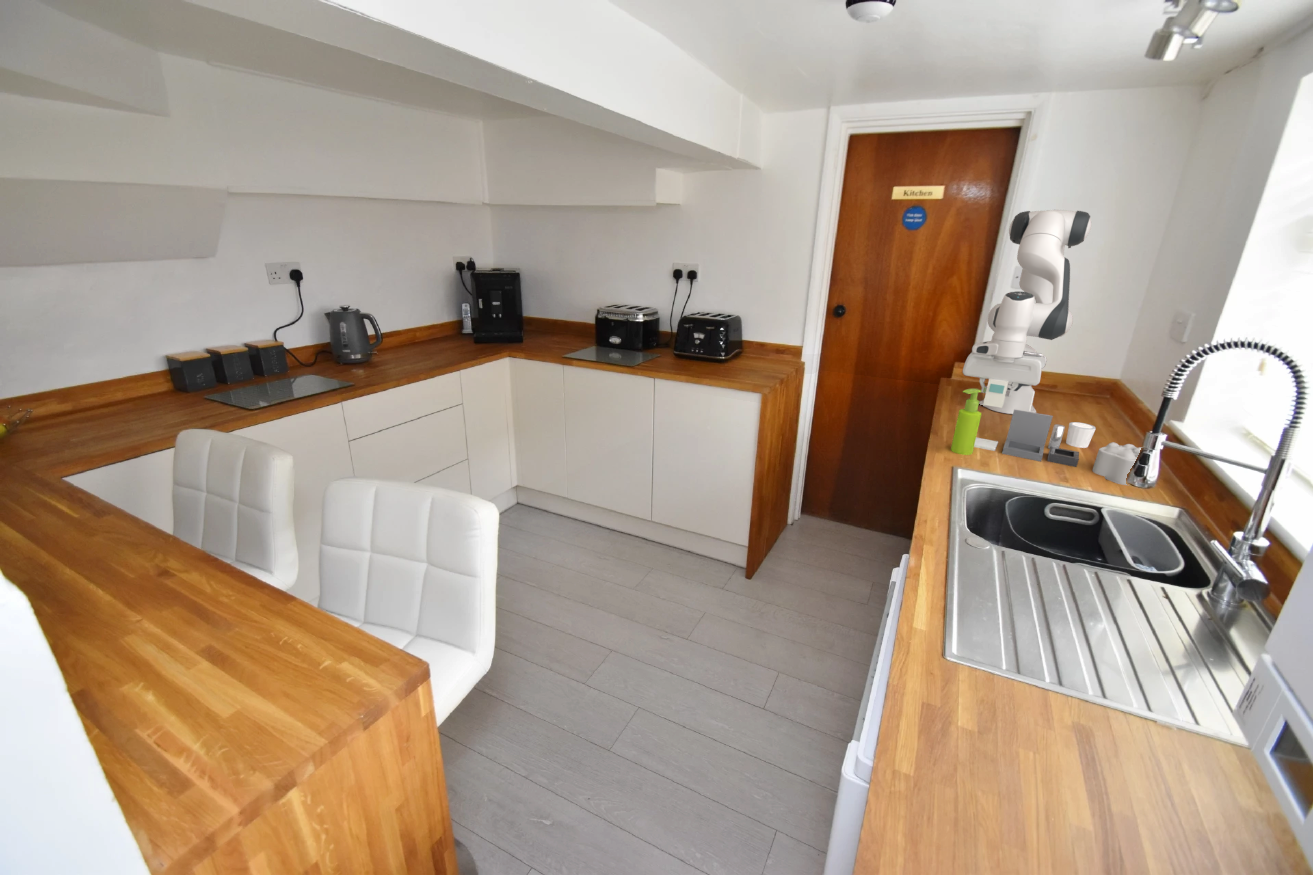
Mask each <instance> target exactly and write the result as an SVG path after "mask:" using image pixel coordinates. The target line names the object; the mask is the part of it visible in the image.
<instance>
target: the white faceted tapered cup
mask: <svg viewBox="0 0 1313 875" xmlns="http://www.w3.org/2000/svg"><path fill="white" fill-rule="evenodd" d="M1096 428H1097V427H1096V426H1095V425H1092V424H1089V423H1084V422H1079V421H1076V422H1075V421H1074V422H1073V421H1072V422H1069V424H1068V430H1067V433H1066V434H1067V436H1066V441H1065V443H1066V445H1069V446H1071V447H1074V448H1080V449H1082V448H1083V449H1085V448H1086V449H1087V448H1088V447H1089V445H1090V443H1091V440H1092V438H1093V436H1094V434H1095V431H1096Z"/></svg>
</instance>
